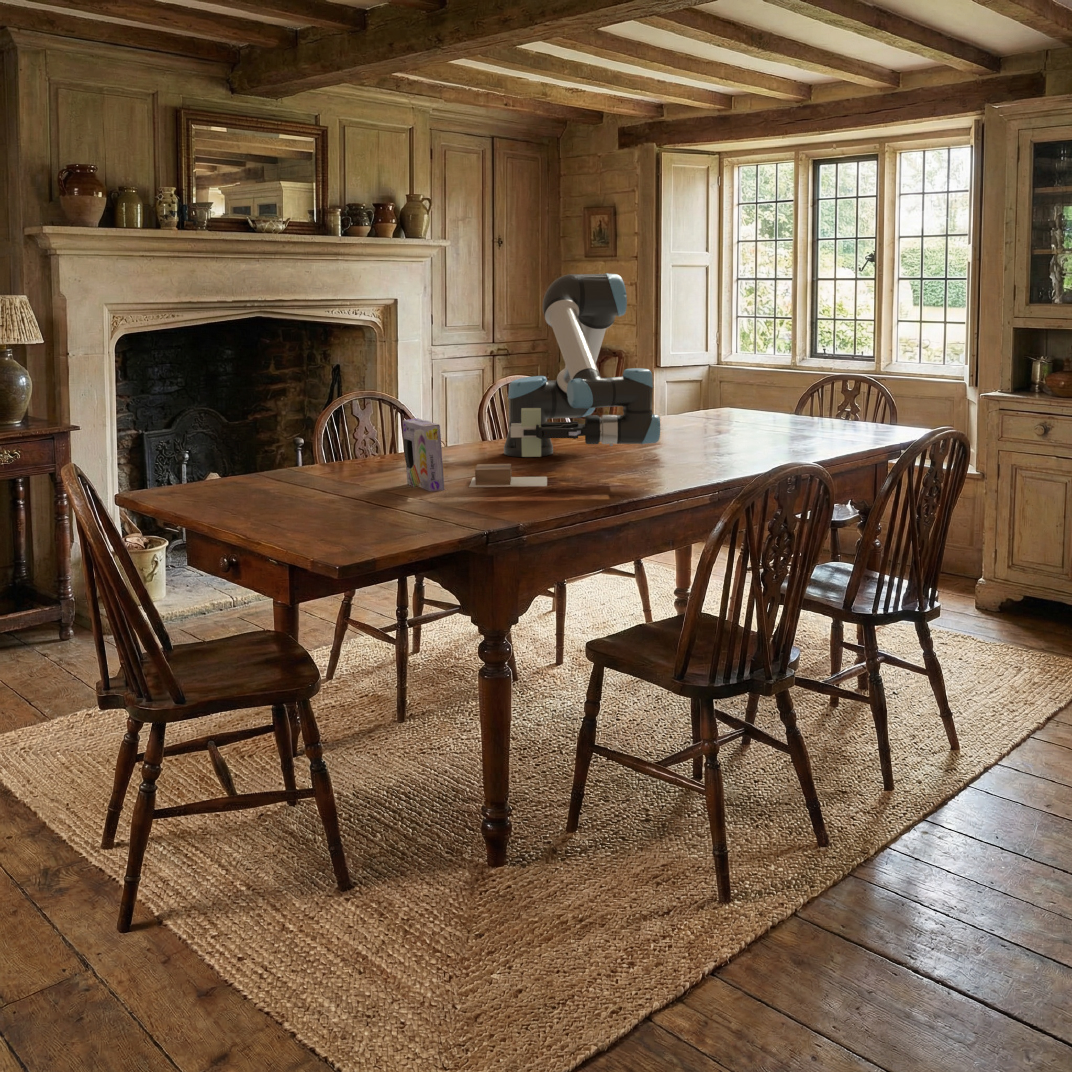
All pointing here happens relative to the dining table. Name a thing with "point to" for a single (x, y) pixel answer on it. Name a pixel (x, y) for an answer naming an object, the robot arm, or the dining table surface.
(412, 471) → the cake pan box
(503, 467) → the base block
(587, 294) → the robot arm
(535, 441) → the pillar
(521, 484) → the build board
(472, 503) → the dining table surface
